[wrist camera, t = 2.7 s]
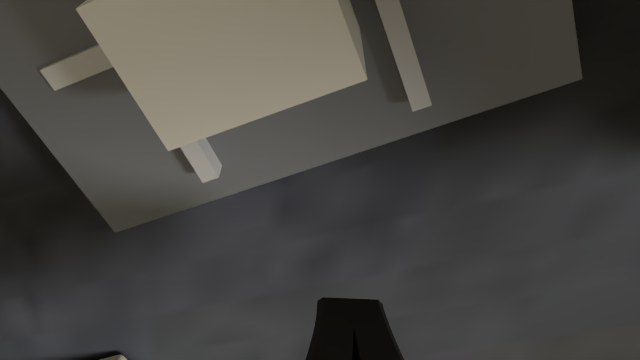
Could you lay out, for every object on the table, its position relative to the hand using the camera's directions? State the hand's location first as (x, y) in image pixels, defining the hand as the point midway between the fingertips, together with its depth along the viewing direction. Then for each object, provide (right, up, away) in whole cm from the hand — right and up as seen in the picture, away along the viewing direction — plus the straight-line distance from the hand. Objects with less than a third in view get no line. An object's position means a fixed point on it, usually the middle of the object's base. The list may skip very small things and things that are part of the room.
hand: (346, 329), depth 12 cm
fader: (-2, +8, 0) cm, 8 cm away
